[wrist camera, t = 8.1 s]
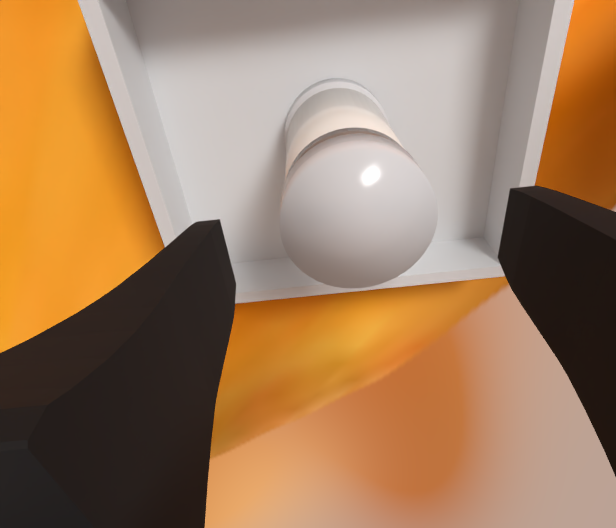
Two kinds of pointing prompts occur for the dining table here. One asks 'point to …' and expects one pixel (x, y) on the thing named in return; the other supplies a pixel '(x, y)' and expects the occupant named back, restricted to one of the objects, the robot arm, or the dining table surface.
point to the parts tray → (311, 69)
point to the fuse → (351, 190)
